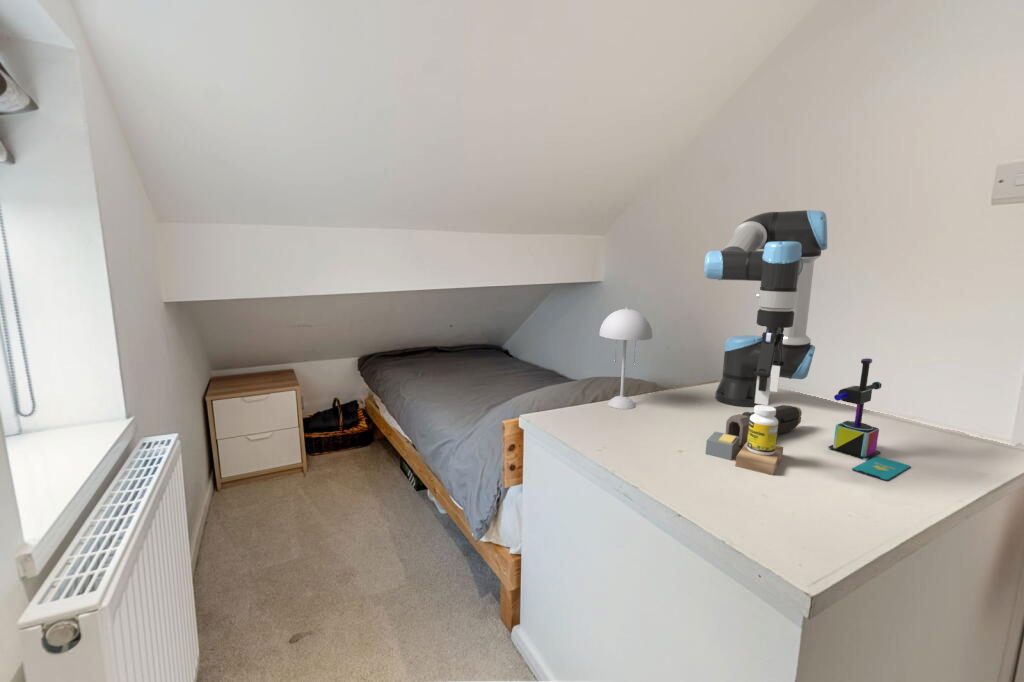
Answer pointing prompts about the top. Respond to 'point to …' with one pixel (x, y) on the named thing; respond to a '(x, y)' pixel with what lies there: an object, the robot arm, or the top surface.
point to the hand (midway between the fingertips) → (766, 397)
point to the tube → (784, 415)
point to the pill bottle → (762, 430)
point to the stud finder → (722, 445)
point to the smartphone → (881, 468)
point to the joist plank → (759, 460)
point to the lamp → (625, 342)
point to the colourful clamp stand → (857, 421)
